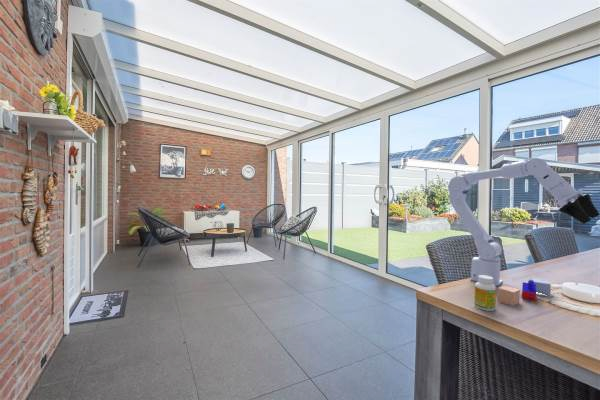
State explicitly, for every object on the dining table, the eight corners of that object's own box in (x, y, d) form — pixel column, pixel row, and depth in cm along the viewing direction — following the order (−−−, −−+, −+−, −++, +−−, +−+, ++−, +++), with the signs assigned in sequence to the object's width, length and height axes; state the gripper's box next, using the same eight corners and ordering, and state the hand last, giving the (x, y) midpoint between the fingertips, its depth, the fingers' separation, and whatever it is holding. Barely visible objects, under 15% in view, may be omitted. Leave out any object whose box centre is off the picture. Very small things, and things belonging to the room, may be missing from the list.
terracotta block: (497, 301, 94) (497, 287, 94) (503, 298, 96) (503, 285, 96) (513, 306, 90) (513, 292, 90) (519, 303, 93) (519, 289, 92)
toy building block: (521, 302, 97) (522, 284, 94) (522, 293, 100) (522, 275, 97) (535, 304, 95) (536, 286, 92) (535, 295, 98) (536, 278, 95)
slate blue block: (533, 294, 101) (533, 281, 100) (531, 290, 104) (531, 278, 104) (549, 297, 98) (550, 284, 98) (547, 292, 102) (547, 280, 102)
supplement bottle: (488, 312, 85) (489, 280, 85) (470, 306, 90) (471, 275, 89) (498, 309, 87) (500, 278, 87) (480, 302, 92) (481, 273, 92)
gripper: (559, 182, 91) (597, 217, 85) (577, 175, 98) (613, 207, 92) (539, 195, 97) (573, 229, 91) (557, 188, 104) (590, 219, 98)
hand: (591, 219), depth 92 cm, fingers open, 7 cm apart
